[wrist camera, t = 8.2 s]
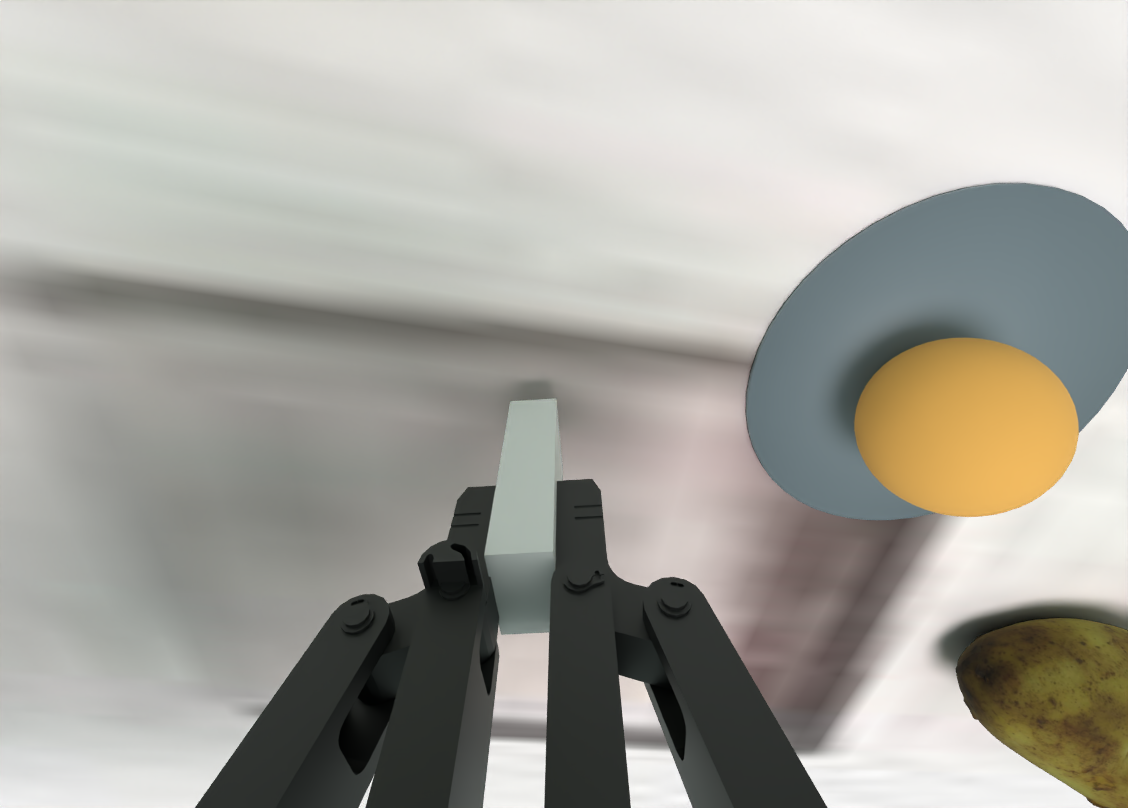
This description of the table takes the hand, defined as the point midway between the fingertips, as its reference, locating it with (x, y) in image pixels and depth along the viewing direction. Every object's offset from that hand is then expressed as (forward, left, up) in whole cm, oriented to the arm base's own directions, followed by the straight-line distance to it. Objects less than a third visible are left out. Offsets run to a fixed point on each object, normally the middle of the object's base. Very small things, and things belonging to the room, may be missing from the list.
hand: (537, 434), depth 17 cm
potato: (+20, -22, -2) cm, 30 cm away
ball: (+13, -4, +1) cm, 13 cm away
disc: (+14, -4, -2) cm, 14 cm away
